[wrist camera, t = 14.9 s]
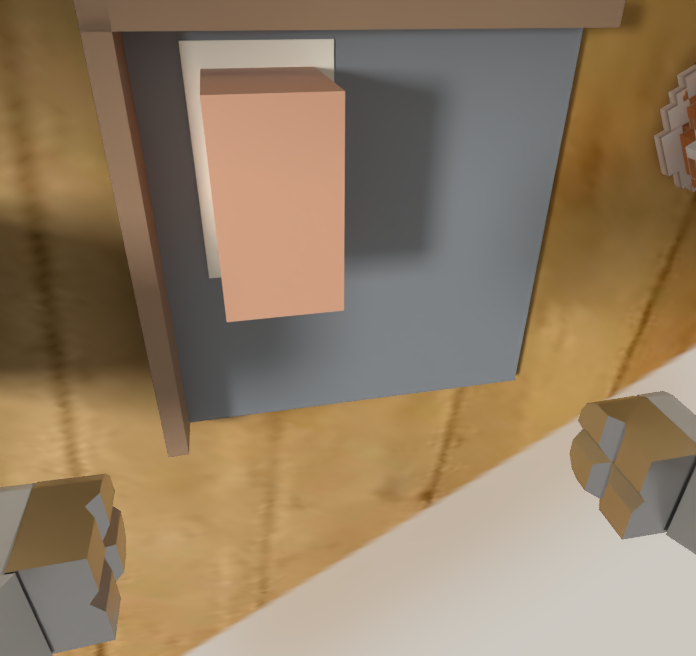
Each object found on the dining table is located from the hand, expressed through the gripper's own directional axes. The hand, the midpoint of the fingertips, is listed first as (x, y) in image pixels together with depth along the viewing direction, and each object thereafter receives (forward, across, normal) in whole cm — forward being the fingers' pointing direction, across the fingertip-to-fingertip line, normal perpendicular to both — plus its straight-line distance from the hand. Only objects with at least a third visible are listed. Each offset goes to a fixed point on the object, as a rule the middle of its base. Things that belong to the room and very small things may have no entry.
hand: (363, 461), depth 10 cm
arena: (+19, -4, +4) cm, 20 cm away
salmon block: (+18, 0, 0) cm, 18 cm away
